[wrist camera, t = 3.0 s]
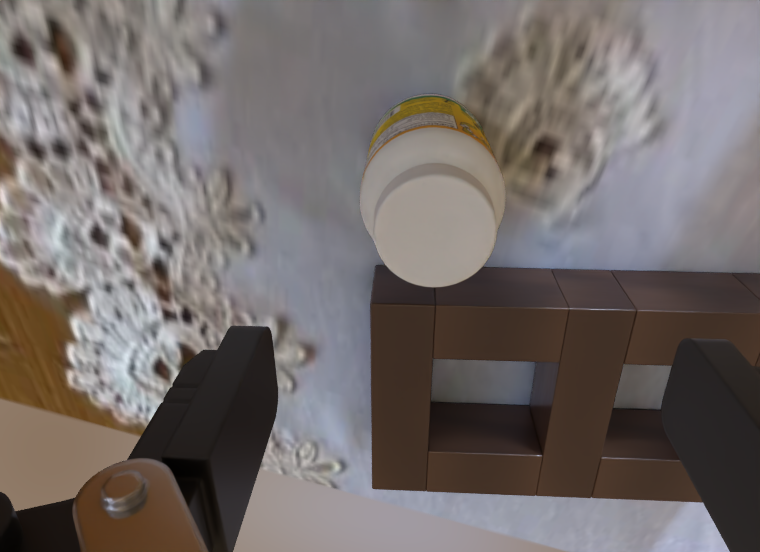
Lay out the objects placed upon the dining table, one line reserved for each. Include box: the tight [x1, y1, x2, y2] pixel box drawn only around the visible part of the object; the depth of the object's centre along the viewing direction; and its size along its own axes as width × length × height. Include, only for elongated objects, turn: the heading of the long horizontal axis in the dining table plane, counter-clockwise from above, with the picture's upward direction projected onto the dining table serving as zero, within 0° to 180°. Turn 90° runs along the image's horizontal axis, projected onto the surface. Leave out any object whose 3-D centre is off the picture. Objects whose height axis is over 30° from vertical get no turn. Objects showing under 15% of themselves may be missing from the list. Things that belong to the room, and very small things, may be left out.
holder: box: [370, 265, 760, 502], centre depth 30 cm, size 21×12×4 cm, turn 90°
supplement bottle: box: [360, 94, 506, 287], centre depth 22 cm, size 5×5×10 cm
